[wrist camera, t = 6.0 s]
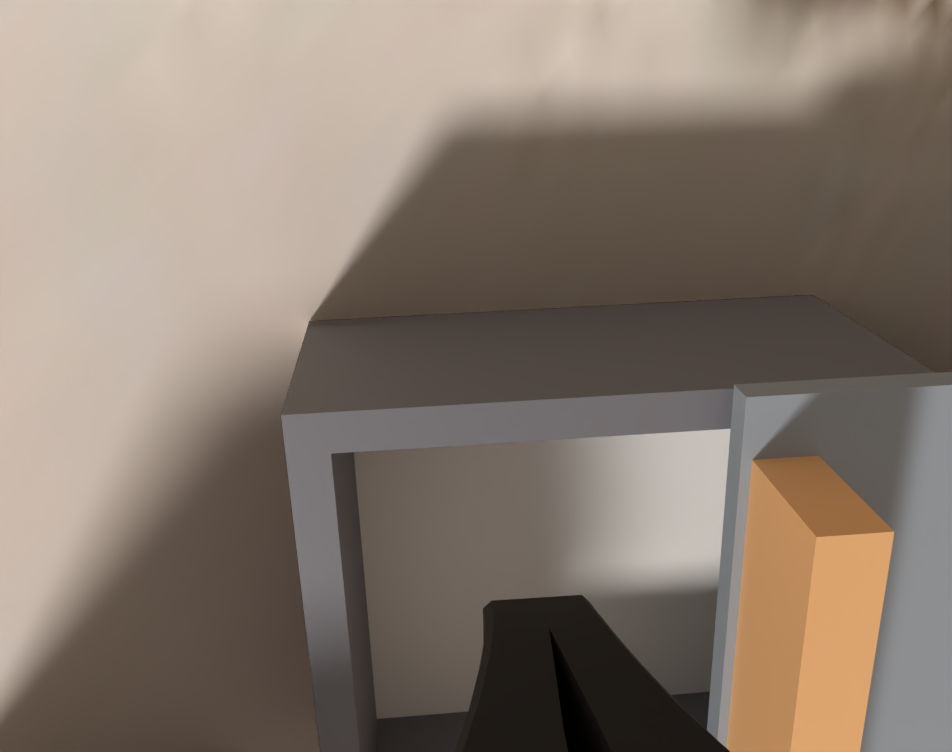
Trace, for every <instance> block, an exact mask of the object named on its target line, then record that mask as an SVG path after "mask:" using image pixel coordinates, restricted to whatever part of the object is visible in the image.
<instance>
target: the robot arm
mask: <svg viewBox="0 0 952 752" xmlns="http://www.w3.org/2000/svg"><path fill="white" fill-rule="evenodd" d="M454 752H730V751H729V750H728V749H727V748H726V747H725V746H723V745H722V744H721V743H720V742H719V741H718V740H717V739H716V738H715V737H714V736H713V735H711V734H710V733H709V732H708V731H707V730H706V729H705V728H704V727H703V726H702V725H701V724H700V723H699V722H698V721H696V720H695V719H694V718H693V717H692V716H691V715H690V714H689V713H688V712H687V711H686V710H685V709H684V708H683V707H682V706H681V705H680V704H679V703H678V702H677V701H676V700H675V699H674V698H673V697H672V696H671V695H670V694H669V693H668V692H667V690H666V689H665V688H664V687H663V686H662V685H661V684H660V683H659V682H658V681H657V680H656V679H655V678H654V677H653V676H652V675H651V674H650V673H649V672H648V670H647V669H646V668H645V667H644V666H643V665H642V664H641V663H640V662H639V661H638V659H637V658H636V657H635V656H634V655H633V654H632V653H631V651H630V650H629V649H628V648H627V647H626V646H625V644H624V643H623V642H622V641H621V640H620V639H619V638H618V636H617V635H616V634H615V633H614V632H613V630H612V629H611V628H610V627H609V625H608V624H607V623H606V622H605V621H604V619H603V618H602V617H601V616H600V614H599V613H598V612H597V611H596V609H595V608H594V607H593V606H592V604H591V603H590V602H589V601H588V600H587V599H586V598H585V597H584V596H583V595H571V596H555V597H539V598H524V599H508V600H492V601H490V602H489V603H488V604H487V605H486V606H485V607H484V608H483V650H482V656H481V662H480V667H479V671H478V675H477V679H476V683H475V687H474V691H473V695H472V699H471V703H470V707H469V710H468V713H467V716H466V719H465V722H464V725H463V728H462V731H461V734H460V737H459V740H458V743H457V746H456V749H455V751H454Z"/></svg>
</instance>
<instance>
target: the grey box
mask: <svg viewBox="0 0 952 752" xmlns="http://www.w3.org/2000/svg"><path fill="white" fill-rule="evenodd" d="M920 373H936V372H934V371H933V370H931V369H930V368H928V367H926V366H925V365H923V364H922V363H920V362H918V361H917V360H915V359H914V358H912V357H911V356H909V355H907V354H906V353H904V352H903V351H901V350H899V349H898V348H896V347H895V346H893V345H891V344H890V343H888V342H887V341H885V340H884V339H882V338H880V337H879V336H877V335H876V334H874V333H872V332H871V331H869V330H868V329H866V328H865V327H863V326H861V325H860V324H858V323H857V322H855V321H853V320H852V319H850V318H849V317H847V316H846V315H844V314H842V313H841V312H839V311H838V310H836V309H834V308H833V307H831V306H830V305H828V304H826V303H825V302H823V301H822V300H820V299H819V298H817V297H815V296H814V295H798V296H779V297H760V298H741V299H722V300H703V301H684V302H665V303H646V304H627V305H608V306H589V307H570V308H551V309H532V310H513V311H494V312H475V313H456V314H437V315H418V316H399V317H380V318H361V319H341V320H322V321H309V324H308V327H307V330H306V333H305V337H304V340H303V343H302V347H301V350H300V353H299V357H298V360H297V363H296V367H295V370H294V373H293V377H292V380H291V383H290V387H289V390H288V393H287V397H286V400H285V403H284V406H283V410H282V413H281V421H282V429H283V438H284V446H285V455H286V463H287V472H288V481H289V489H290V498H291V506H292V515H293V523H294V532H295V541H296V549H297V558H298V566H299V575H300V583H301V592H302V600H303V609H304V618H305V626H306V635H307V643H308V652H309V660H310V669H311V677H312V686H313V695H314V703H315V712H316V720H317V729H318V737H319V746H320V752H454V751H455V749H456V746H457V743H458V740H459V737H460V734H461V731H462V728H463V725H464V722H465V719H466V716H467V713H468V710H469V707H470V703H471V699H472V695H473V691H474V687H475V683H476V679H477V675H478V671H479V667H480V662H481V656H482V650H483V608H484V607H485V606H486V605H487V604H488V603H489V602H490V601H492V600H508V599H524V598H539V597H555V596H571V595H583V596H584V597H585V598H586V599H587V600H588V601H589V602H590V603H591V604H592V606H593V607H594V608H595V609H596V611H597V612H598V613H599V614H600V616H601V617H602V618H603V619H604V621H605V622H606V623H607V624H608V625H609V627H610V628H611V629H612V630H613V632H614V633H615V634H616V635H617V636H618V638H619V639H620V640H621V641H622V642H623V643H624V644H625V646H626V647H627V648H628V649H629V650H630V651H631V653H632V654H633V655H634V656H635V657H636V658H637V659H638V661H639V662H640V663H641V664H642V665H643V666H644V667H645V668H646V669H647V670H648V672H649V673H650V674H651V675H652V676H653V677H654V678H655V679H656V680H657V681H658V682H659V683H660V684H661V685H662V686H663V687H664V688H665V689H666V690H667V692H668V693H669V694H670V695H671V696H672V697H673V698H674V699H675V700H676V701H677V702H678V703H679V704H680V705H681V706H682V707H683V708H684V709H685V710H686V711H687V712H688V713H689V714H690V715H691V716H692V717H693V718H694V719H695V720H696V721H698V722H699V723H700V724H701V725H702V726H703V727H704V728H705V729H706V730H707V722H708V710H709V697H710V684H711V672H712V659H713V646H714V633H715V621H716V608H717V595H718V583H719V570H720V557H721V545H722V532H723V519H724V506H725V494H726V481H727V468H728V456H729V443H730V430H731V417H732V405H733V392H734V384H751V383H768V382H785V381H802V380H819V379H836V378H853V377H870V376H886V375H903V374H920Z"/></svg>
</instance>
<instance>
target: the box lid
mask: <svg viewBox="0 0 952 752" xmlns="http://www.w3.org/2000/svg"><path fill="white" fill-rule="evenodd" d="M707 731H708V732H709V733H710V734H711V735H713V736H714V737H715V738H716V739H717V740H718V741H719V742H720V743H721V744H722V745H723V746H725V747H726V748H727V749H728V750H729V751H730V752H952V372H937V373H920V374H903V375H886V376H870V377H853V378H836V379H819V380H802V381H785V382H768V383H751V384H734V392H733V405H732V417H731V430H730V443H729V456H728V468H727V481H726V494H725V506H724V519H723V532H722V545H721V557H720V570H719V583H718V595H717V608H716V621H715V633H714V646H713V659H712V672H711V684H710V697H709V710H708V722H707Z"/></svg>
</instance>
